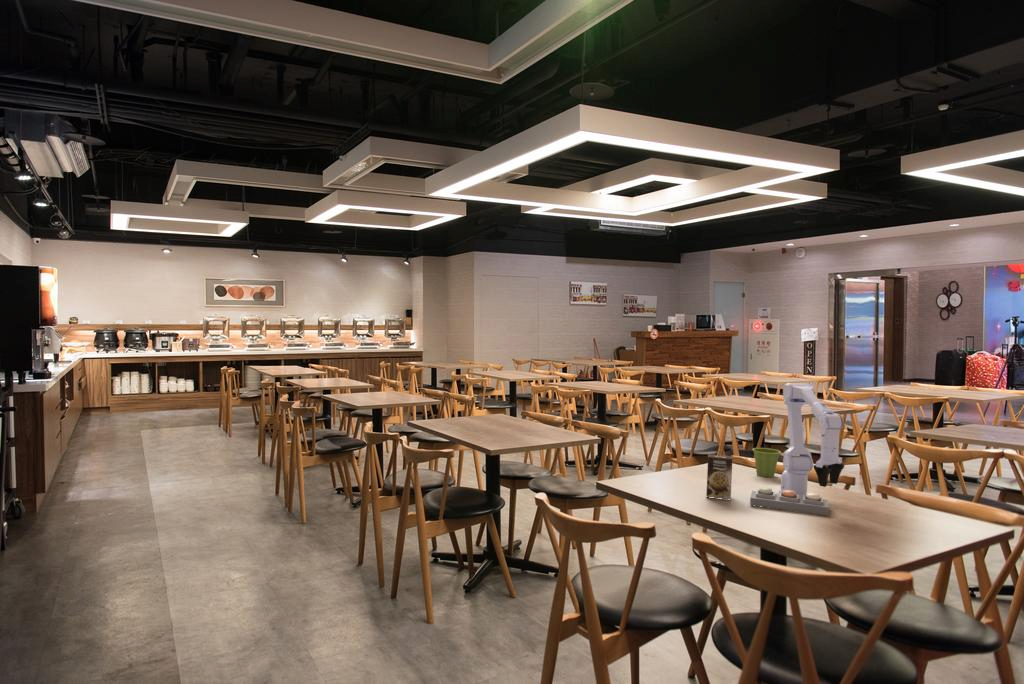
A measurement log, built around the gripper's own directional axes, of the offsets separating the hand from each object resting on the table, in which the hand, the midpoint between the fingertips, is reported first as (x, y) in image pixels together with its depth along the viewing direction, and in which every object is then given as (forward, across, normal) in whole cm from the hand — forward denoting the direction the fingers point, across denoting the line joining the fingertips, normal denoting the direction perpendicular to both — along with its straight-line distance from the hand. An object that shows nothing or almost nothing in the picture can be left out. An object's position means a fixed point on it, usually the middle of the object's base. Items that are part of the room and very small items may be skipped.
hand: (828, 484), depth 229 cm
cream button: (+6, -2, +4) cm, 7 cm away
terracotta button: (+6, -6, +11) cm, 14 cm away
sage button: (+6, -10, +18) cm, 22 cm away
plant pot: (+10, +31, +44) cm, 54 cm away
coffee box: (+10, -18, +33) cm, 39 cm away
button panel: (+10, -6, +11) cm, 16 cm away
